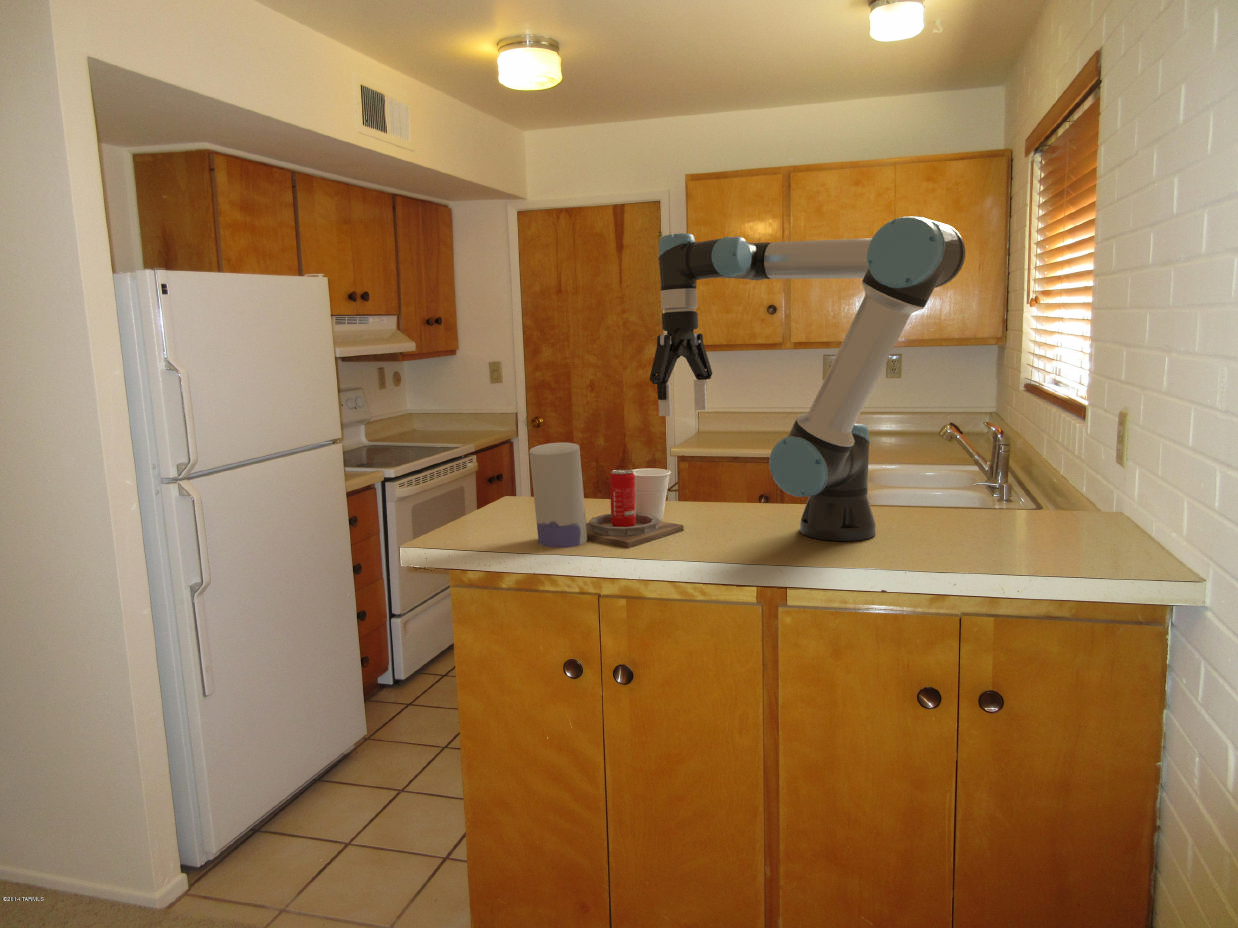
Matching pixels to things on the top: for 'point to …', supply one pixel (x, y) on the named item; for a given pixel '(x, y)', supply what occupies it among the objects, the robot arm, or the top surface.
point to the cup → (651, 491)
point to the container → (558, 494)
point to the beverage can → (622, 498)
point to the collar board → (635, 538)
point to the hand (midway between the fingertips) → (683, 413)
